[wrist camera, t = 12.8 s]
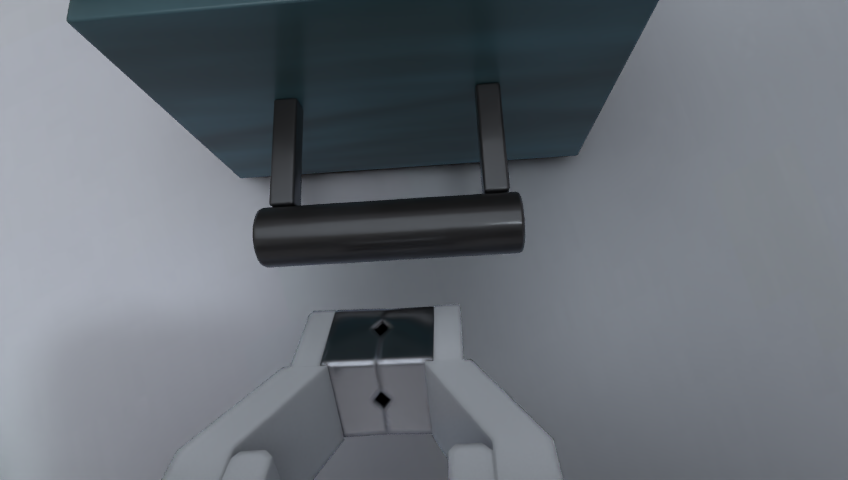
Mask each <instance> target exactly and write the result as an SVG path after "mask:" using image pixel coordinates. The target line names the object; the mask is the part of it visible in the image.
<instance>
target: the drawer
mask: <svg viewBox="0 0 848 480" xmlns="http://www.w3.org/2000/svg"><path fill="white" fill-rule="evenodd" d="M658 1H659V0H70V3H69V9H68V14H67V22H68V23H69V24H70V25H71V26H72V27H73V28H74V29H76V30H77V31H78V32H79V33H80V34H81V35H82V36H83V37H84V38H86V39H87V40H88V41H89V42H90V43H91V44H92V45H93V46H94V47H96V48H97V49H98V50H99V51H100V52H101V53H102V54H103V55H104V56H106V57H107V58H108V59H109V60H110V61H111V62H112V63H113V64H114V65H115V66H117V67H118V68H119V69H120V70H121V71H122V72H123V73H124V74H125V75H127V76H128V77H129V78H130V79H131V80H132V81H133V82H134V83H135V84H137V85H138V86H139V87H140V88H141V89H142V90H143V91H144V92H145V93H147V94H148V95H149V96H150V97H151V98H152V99H153V100H154V101H155V102H157V103H158V104H159V105H160V106H161V107H162V108H163V109H164V110H165V111H167V112H168V113H169V114H170V115H171V116H172V117H173V118H174V119H175V120H177V121H178V122H179V123H180V124H181V125H182V126H183V127H184V128H185V129H186V130H188V131H189V132H190V133H191V134H192V135H193V136H194V137H195V138H196V139H198V140H199V141H200V142H201V143H202V144H203V145H204V146H205V147H206V148H208V149H209V150H210V151H211V152H212V153H213V154H214V155H215V156H216V157H218V158H219V159H220V160H221V161H222V162H223V163H224V164H225V165H226V166H228V167H229V168H230V169H231V170H232V171H233V172H234V173H235V174H236V175H238V176H239V177H240V178H252V177H266V176H271V181H270V205H271V206H272V207H271V208H262V209H260V210H259V211H258V212H257V214H256V216H255V219H254V223H253V244H254V249H255V253H256V256H257V259H258V261H259V262H260V264H261V265H263V266H265V267H285V266H303V265H320V264H338V263H355V262H373V261H390V260H408V259H425V258H443V257H460V256H477V255H495V254H512V253H520V252H522V251H523V248H524V243H525V218H524V209H523V203H522V199H521V196H520V194H519V193H518V192H509V189H510V184H509V173H508V163H507V160H516V159H531V158H546V157H560V156H575V155H578V153H579V151H580V149H581V147H582V145H583V143H584V141H585V139H586V138H587V136H588V134H589V132H590V130H591V128H592V126H593V124H594V122H595V120H596V119H597V117H598V115H599V113H600V111H601V109H602V107H603V105H604V103H605V102H606V100H607V98H608V96H609V94H610V92H611V90H612V88H613V86H614V85H615V83H616V81H617V79H618V77H619V75H620V73H621V71H622V69H623V67H624V66H625V64H626V62H627V60H628V58H629V56H630V54H631V52H632V50H633V49H634V47H635V45H636V43H637V41H638V39H639V37H640V35H641V33H642V32H643V30H644V28H645V26H646V24H647V22H648V20H649V18H650V16H651V14H652V13H653V11H654V9H655V7H656V5H657V3H658ZM472 162H480V169H481V182H482V194H473V195H457V196H442V197H426V198H411V199H395V200H380V201H364V202H348V203H333V204H317V205H302V206H301V183H302V174H310V173H325V172H340V171H355V170H369V169H384V168H399V167H413V166H428V165H443V164H457V163H472Z"/></svg>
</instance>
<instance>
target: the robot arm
mask: <svg viewBox="0 0 848 480" xmlns="http://www.w3.org/2000/svg"><path fill="white" fill-rule="evenodd" d="M386 434H432V436H433V438H434V439H435V441H436V442H437V444H438V445H439V447H440V449H441V450H442V452H443V453H444V455H445V456H446V458H447V459H448V476H449V480H563V476H562V472H561V468H560V464H559V459H558V455H557V451H556V447H555V443H554V439H553V438H552V437H551V436H550V435H549V434H548V433H547V432H546V431H545V430H544V429H543V428H542V427H541V426H540V425H539V424H537V423H536V422H535V421H534V420H533V419H532V418H531V417H530V416H529V415H528V414H527V413H526V412H525V411H524V410H523V409H522V408H521V407H520V406H519V405H518V404H517V403H516V402H515V401H514V400H513V399H512V398H511V397H510V396H509V395H508V394H507V393H506V392H505V391H503V390H502V389H501V388H500V387H499V386H498V385H497V384H496V383H495V382H494V381H493V380H492V379H491V378H490V377H489V376H488V375H487V374H486V373H485V372H484V371H483V370H482V369H481V368H480V367H479V366H478V365H477V364H476V363H475V362H474V361H473V360H471V359H469V360H464V353H463V338H462V323H461V308H460V305H459V304H447V305H435V307H434V306H433V307H414V308H395V309H354V310H337V311H336V310H327V311H313V312H312V313H311V314H310V315H309V316H308V319H307V322H306V325H305V327H304V330H303V333H302V336H301V338H300V341H299V344H298V346H297V349H296V352H295V355H294V357H293V360H292V363H291V366H290V367H283V368H281V369H280V370H279V371H278V372H276V373H275V374H274V375H272V376H271V377H270V378H269V379H267V380H266V381H265V382H264V383H262V384H261V385H260V386H258V387H257V388H256V389H255V390H253V391H252V392H251V393H250V394H248V395H247V396H246V397H244V398H243V399H242V400H241V401H239V402H238V403H237V404H236V405H234V406H233V407H232V408H230V409H229V410H228V411H227V412H225V413H224V414H223V415H222V416H220V417H219V418H218V419H216V420H215V421H214V422H213V423H211V424H210V425H209V426H208V427H206V428H205V429H204V430H203V431H201V432H200V433H199V434H197V435H196V436H195V437H194V438H192V439H191V440H190V441H189V442H187V443H186V444H185V445H183V446H182V447H181V448H180V449H178V450H177V451H176V453H175V455H174V457H173V459H172V461H171V463H170V464H169V466H168V468H167V470H166V472H165V474H164V476H163V477H162V479H161V480H313V479H314V478H315V477H316V475H317V474H318V473H319V471H320V470H321V469H322V468H323V466H324V465H325V464H326V462H327V461H328V460H329V459H330V457H331V456H332V455H333V454H334V452H335V451H336V450H337V448H338V447H339V446H340V445H341V443H342V442H343V441H344V437H354V436H370V435H386Z"/></svg>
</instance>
